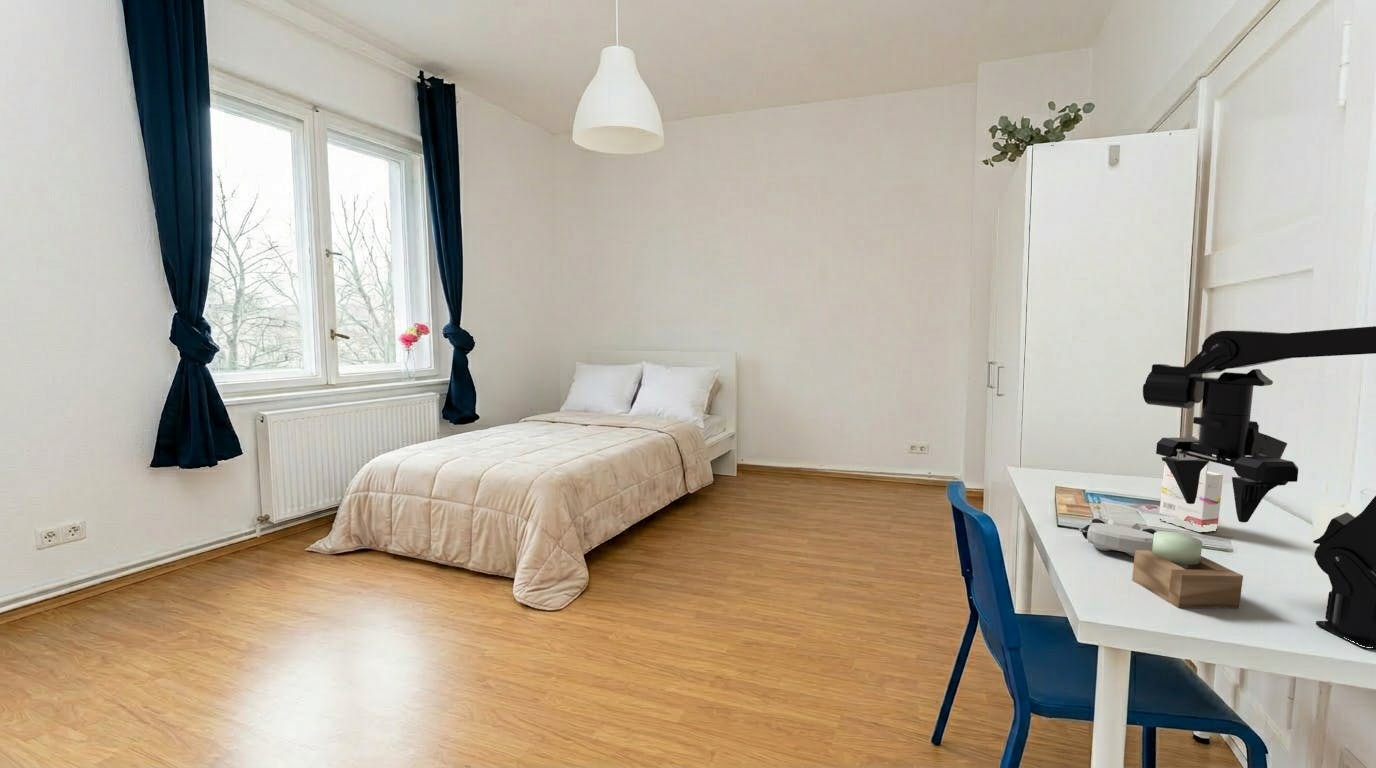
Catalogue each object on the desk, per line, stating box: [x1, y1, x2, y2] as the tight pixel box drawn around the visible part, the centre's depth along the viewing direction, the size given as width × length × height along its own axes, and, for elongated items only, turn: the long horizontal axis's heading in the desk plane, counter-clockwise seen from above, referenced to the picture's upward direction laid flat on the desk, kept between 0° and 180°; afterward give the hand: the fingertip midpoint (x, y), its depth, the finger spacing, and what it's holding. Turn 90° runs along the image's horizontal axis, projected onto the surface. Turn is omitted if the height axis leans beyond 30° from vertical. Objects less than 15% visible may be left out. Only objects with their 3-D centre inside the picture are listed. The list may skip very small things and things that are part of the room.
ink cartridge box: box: [1159, 461, 1224, 526], centre depth 128 cm, size 9×5×15 cm, turn 17°
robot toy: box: [1078, 518, 1158, 558], centre depth 116 cm, size 12×4×15 cm
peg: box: [1152, 531, 1203, 570], centre depth 99 cm, size 6×6×6 cm
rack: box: [1131, 550, 1244, 609], centre depth 97 cm, size 10×9×5 cm
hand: (1215, 512), depth 98 cm, fingers open, 9 cm apart
